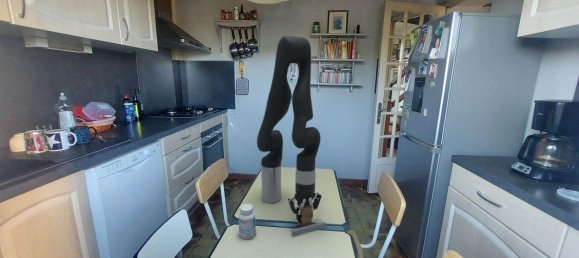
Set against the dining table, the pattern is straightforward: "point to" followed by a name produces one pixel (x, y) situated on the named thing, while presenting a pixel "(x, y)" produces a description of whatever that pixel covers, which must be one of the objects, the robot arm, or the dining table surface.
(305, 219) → the walnut block
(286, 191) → the dining table surface
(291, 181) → the dining table surface
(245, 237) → the pill bottle
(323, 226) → the rail
